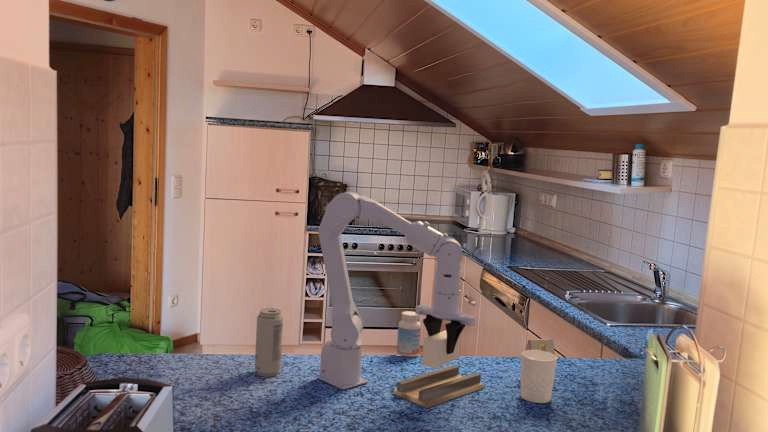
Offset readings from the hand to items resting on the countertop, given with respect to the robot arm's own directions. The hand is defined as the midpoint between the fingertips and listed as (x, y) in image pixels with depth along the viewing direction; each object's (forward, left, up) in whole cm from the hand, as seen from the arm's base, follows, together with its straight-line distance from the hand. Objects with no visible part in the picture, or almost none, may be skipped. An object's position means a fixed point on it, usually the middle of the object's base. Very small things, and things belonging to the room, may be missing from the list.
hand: (442, 350), depth 148 cm
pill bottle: (-23, +14, -10) cm, 29 cm away
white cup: (+16, +15, -10) cm, 24 cm away
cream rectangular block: (0, -1, -2) cm, 2 cm away
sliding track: (0, 0, -9) cm, 9 cm away
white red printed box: (+9, +27, -10) cm, 30 cm away
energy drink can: (-32, -25, -10) cm, 42 cm away
